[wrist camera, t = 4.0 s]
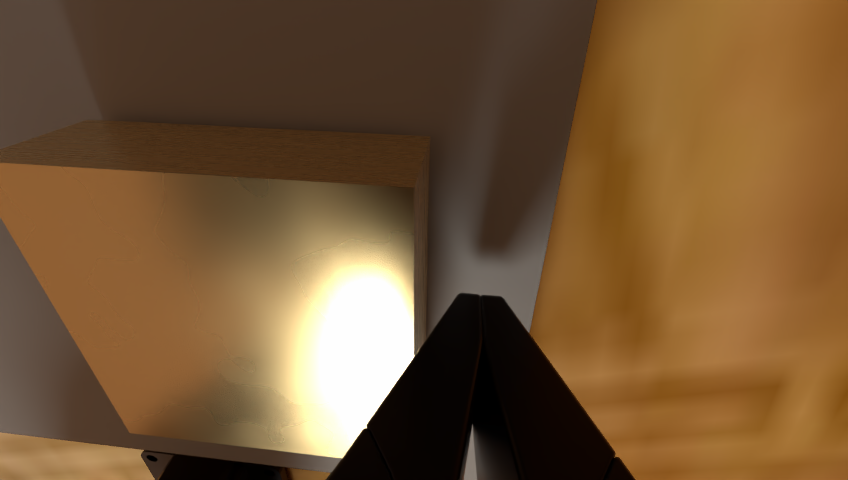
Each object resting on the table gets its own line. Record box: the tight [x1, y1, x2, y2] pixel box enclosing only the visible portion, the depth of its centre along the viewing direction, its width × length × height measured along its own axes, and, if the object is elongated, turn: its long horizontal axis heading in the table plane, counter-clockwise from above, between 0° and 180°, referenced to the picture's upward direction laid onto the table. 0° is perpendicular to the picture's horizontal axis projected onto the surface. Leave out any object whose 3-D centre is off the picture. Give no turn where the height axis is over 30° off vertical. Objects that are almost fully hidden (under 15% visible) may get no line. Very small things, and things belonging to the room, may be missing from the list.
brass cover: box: [0, 120, 430, 458], centre depth 8 cm, size 6×6×2 cm
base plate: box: [0, 0, 597, 480], centre depth 11 cm, size 14×18×3 cm
